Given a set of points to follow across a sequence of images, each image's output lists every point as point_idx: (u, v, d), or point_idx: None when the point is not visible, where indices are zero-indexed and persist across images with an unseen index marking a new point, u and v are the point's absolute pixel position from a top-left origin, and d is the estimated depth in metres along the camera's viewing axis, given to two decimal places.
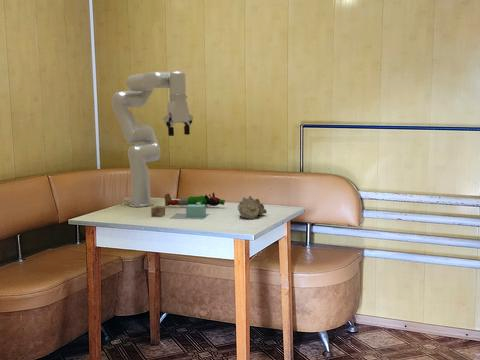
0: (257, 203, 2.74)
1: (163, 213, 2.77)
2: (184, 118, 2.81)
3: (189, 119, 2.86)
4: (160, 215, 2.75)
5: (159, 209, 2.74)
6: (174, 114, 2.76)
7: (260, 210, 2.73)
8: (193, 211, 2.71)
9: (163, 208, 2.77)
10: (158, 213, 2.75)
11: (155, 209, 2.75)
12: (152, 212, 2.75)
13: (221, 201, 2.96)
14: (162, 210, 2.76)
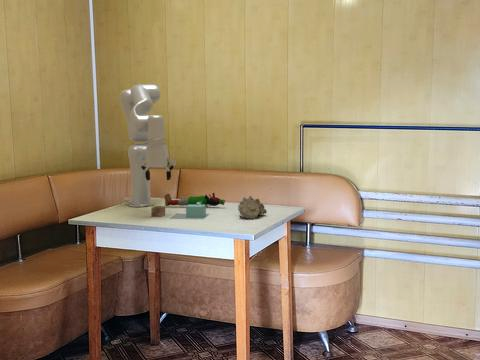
0: (257, 203, 2.74)
1: (163, 213, 2.77)
2: None
3: (143, 164, 2.75)
4: (160, 215, 2.75)
5: (159, 209, 2.74)
6: None
7: (260, 210, 2.73)
8: (193, 211, 2.71)
9: (163, 208, 2.77)
10: (158, 213, 2.75)
11: (155, 209, 2.75)
12: (152, 212, 2.75)
13: (221, 201, 2.96)
14: (163, 210, 2.76)
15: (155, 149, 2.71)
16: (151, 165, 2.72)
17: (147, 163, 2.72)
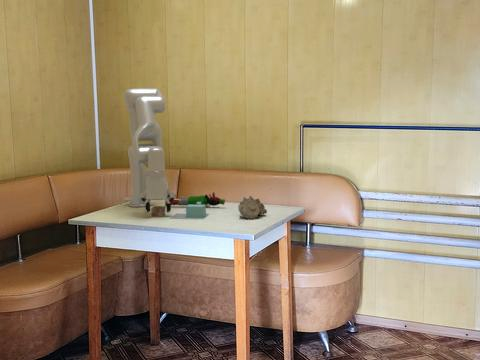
0: (257, 203, 2.75)
1: (163, 213, 2.77)
2: None
3: (143, 196, 2.77)
4: (160, 215, 2.75)
5: (159, 209, 2.74)
6: None
7: (260, 210, 2.73)
8: (193, 211, 2.71)
9: (163, 208, 2.77)
10: (158, 213, 2.75)
11: (155, 209, 2.75)
12: (152, 212, 2.75)
13: (221, 201, 2.96)
14: (163, 210, 2.76)
15: (155, 182, 2.72)
16: (151, 197, 2.73)
17: (147, 195, 2.74)
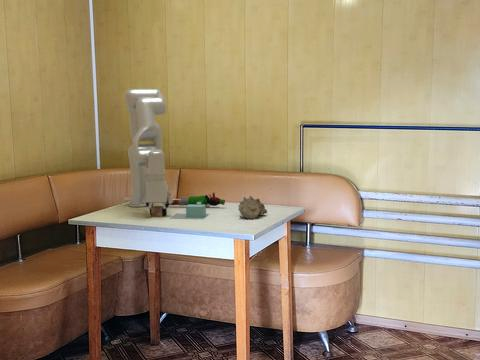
0: (258, 203, 2.75)
1: None
2: None
3: (146, 201, 2.77)
4: (160, 215, 2.74)
5: (159, 209, 2.74)
6: None
7: (261, 210, 2.73)
8: (193, 211, 2.71)
9: None
10: (158, 213, 2.74)
11: (155, 209, 2.74)
12: (152, 212, 2.75)
13: (221, 201, 2.96)
14: None
15: (155, 185, 2.73)
16: (151, 200, 2.74)
17: (147, 198, 2.74)
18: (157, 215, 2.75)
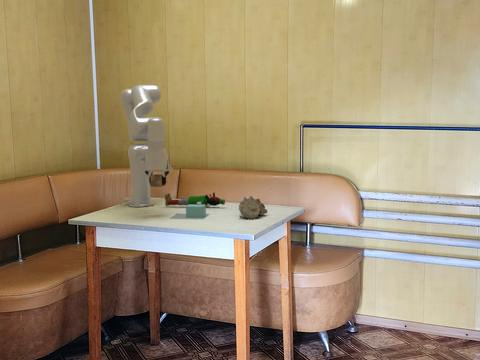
0: (258, 203, 2.75)
1: None
2: None
3: (146, 169, 2.75)
4: (159, 183, 2.72)
5: (158, 177, 2.72)
6: None
7: (261, 210, 2.74)
8: (193, 211, 2.71)
9: (162, 176, 2.75)
10: (158, 181, 2.72)
11: (154, 177, 2.72)
12: (151, 180, 2.73)
13: (221, 201, 2.96)
14: None
15: (154, 152, 2.71)
16: (150, 168, 2.72)
17: (146, 166, 2.72)
18: (156, 183, 2.73)
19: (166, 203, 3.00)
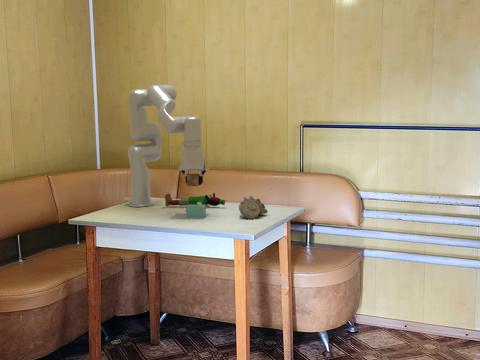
0: (258, 203, 2.75)
1: None
2: None
3: (182, 169, 2.72)
4: (196, 182, 2.69)
5: (195, 176, 2.69)
6: None
7: (261, 210, 2.74)
8: (193, 211, 2.71)
9: None
10: (194, 180, 2.69)
11: (191, 176, 2.69)
12: (188, 179, 2.70)
13: (221, 201, 2.96)
14: None
15: (191, 151, 2.67)
16: (187, 167, 2.69)
17: (183, 165, 2.69)
18: (193, 182, 2.69)
19: (166, 203, 3.00)
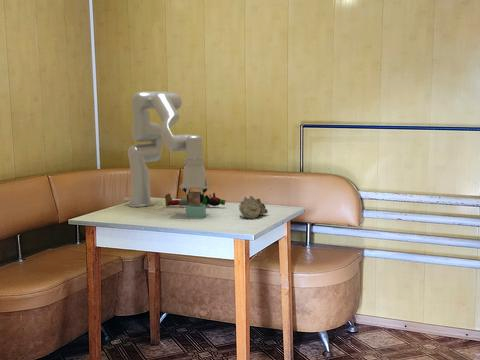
0: (258, 203, 2.75)
1: None
2: None
3: (183, 187, 2.73)
4: (198, 201, 2.70)
5: (197, 194, 2.70)
6: None
7: (261, 210, 2.74)
8: (193, 211, 2.71)
9: None
10: (196, 199, 2.70)
11: (192, 194, 2.70)
12: (189, 197, 2.71)
13: (222, 201, 2.96)
14: None
15: (193, 170, 2.68)
16: (189, 185, 2.70)
17: (185, 183, 2.70)
18: (195, 201, 2.71)
19: (166, 203, 3.00)
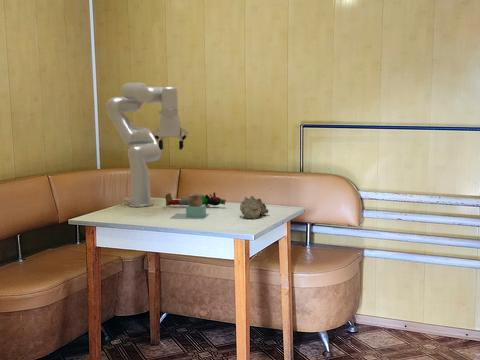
0: (259, 203, 2.75)
1: (200, 201, 2.73)
2: None
3: (156, 134, 2.86)
4: (198, 203, 2.70)
5: (197, 197, 2.70)
6: None
7: (262, 210, 2.74)
8: (193, 211, 2.71)
9: (200, 196, 2.73)
10: (196, 201, 2.70)
11: (192, 197, 2.70)
12: (189, 200, 2.71)
13: (222, 201, 2.96)
14: (200, 198, 2.72)
15: (168, 120, 2.82)
16: (164, 135, 2.83)
17: (160, 133, 2.83)
18: (194, 203, 2.71)
19: (167, 203, 3.00)
